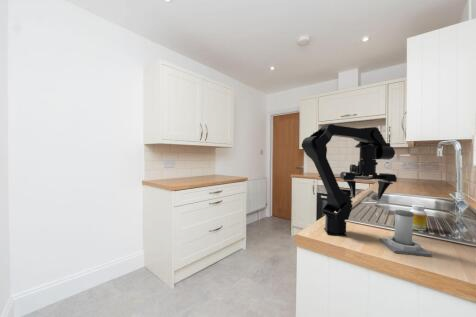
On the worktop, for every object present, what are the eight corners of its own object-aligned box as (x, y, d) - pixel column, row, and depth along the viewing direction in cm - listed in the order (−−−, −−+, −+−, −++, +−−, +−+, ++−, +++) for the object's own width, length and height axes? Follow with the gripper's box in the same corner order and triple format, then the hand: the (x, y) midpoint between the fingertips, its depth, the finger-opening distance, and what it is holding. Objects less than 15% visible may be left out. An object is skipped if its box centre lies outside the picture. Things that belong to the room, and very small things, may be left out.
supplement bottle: (429, 231, 84) (430, 207, 84) (414, 230, 85) (415, 206, 85) (420, 226, 89) (421, 204, 89) (406, 225, 90) (407, 203, 90)
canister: (399, 247, 66) (400, 213, 66) (391, 241, 71) (392, 209, 71) (415, 249, 66) (417, 214, 65) (406, 242, 70) (407, 210, 70)
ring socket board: (394, 252, 64) (394, 246, 64) (378, 239, 74) (379, 234, 74) (431, 256, 62) (431, 250, 62) (410, 242, 72) (411, 237, 72)
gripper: (383, 159, 89) (382, 195, 90) (337, 158, 93) (335, 193, 93) (398, 160, 78) (396, 201, 79) (344, 158, 82) (343, 198, 82)
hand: (366, 198), depth 83 cm, fingers open, 9 cm apart
